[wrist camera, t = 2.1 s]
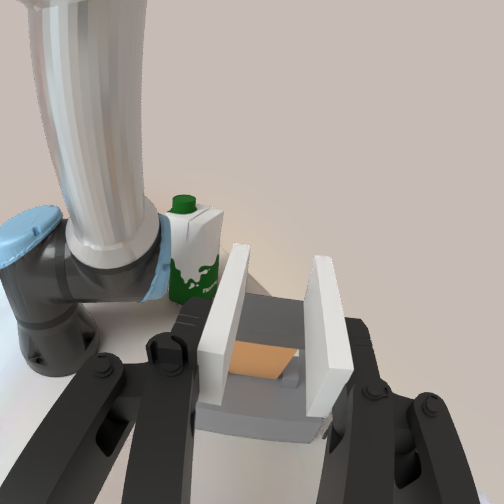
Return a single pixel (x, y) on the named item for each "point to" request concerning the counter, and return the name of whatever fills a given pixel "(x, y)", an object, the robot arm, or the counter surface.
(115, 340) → the counter surface
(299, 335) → the lever
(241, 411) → the switch box
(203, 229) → the milk carton
